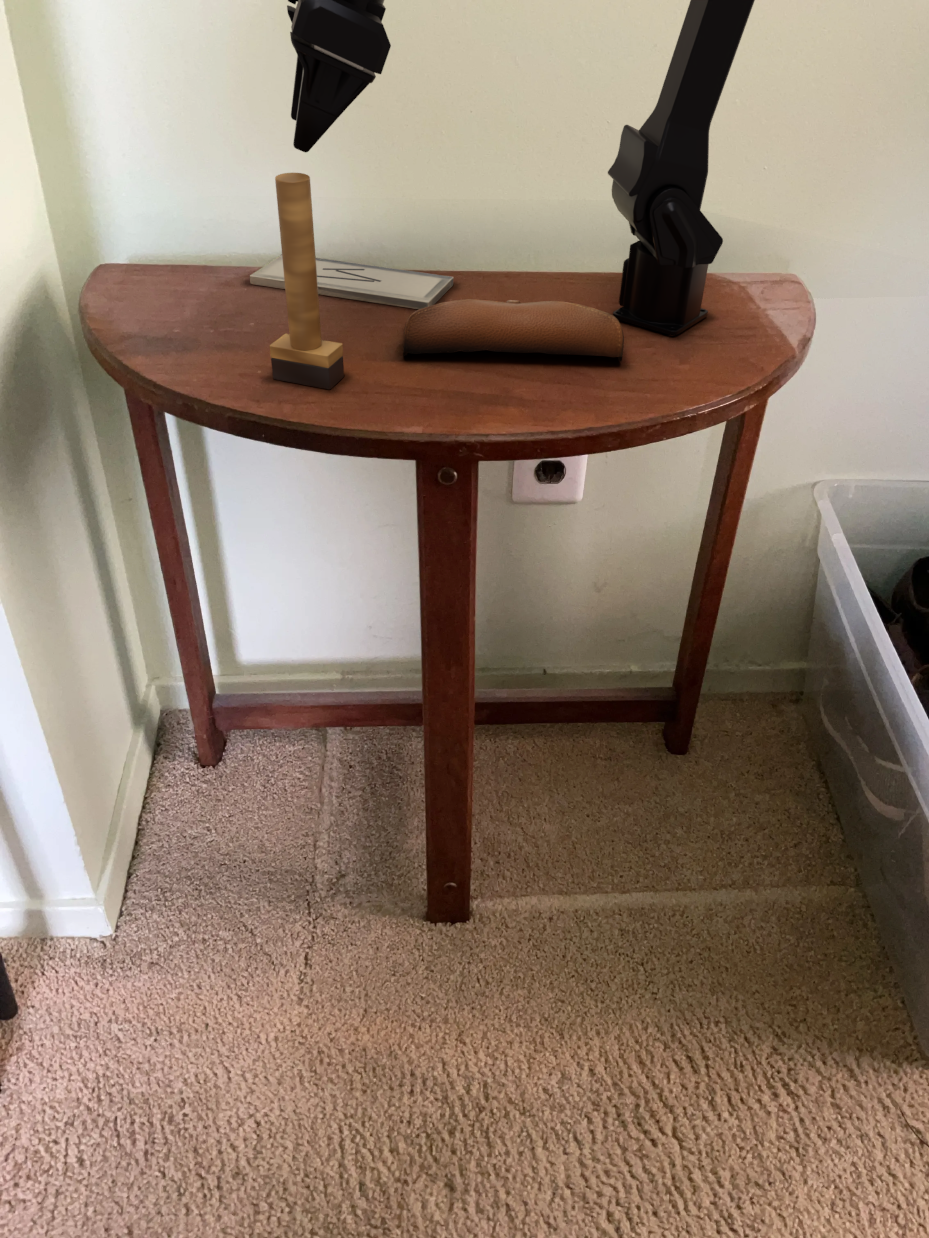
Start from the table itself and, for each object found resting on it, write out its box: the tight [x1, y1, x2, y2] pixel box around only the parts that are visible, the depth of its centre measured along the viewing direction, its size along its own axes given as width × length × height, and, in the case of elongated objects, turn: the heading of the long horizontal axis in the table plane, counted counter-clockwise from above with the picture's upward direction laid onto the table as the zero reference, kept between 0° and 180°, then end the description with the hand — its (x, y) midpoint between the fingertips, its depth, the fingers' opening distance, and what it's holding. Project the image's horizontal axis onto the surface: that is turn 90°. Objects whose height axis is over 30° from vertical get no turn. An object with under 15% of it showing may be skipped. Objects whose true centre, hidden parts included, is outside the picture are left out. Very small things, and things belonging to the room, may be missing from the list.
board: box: [249, 253, 454, 310], centre depth 94 cm, size 18×7×1 cm, turn 71°
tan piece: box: [269, 172, 345, 391], centre depth 73 cm, size 5×3×15 cm, turn 70°
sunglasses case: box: [402, 298, 625, 363], centre depth 83 cm, size 18×7×7 cm, turn 89°
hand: (298, 134), depth 76 cm, fingers open, 9 cm apart
